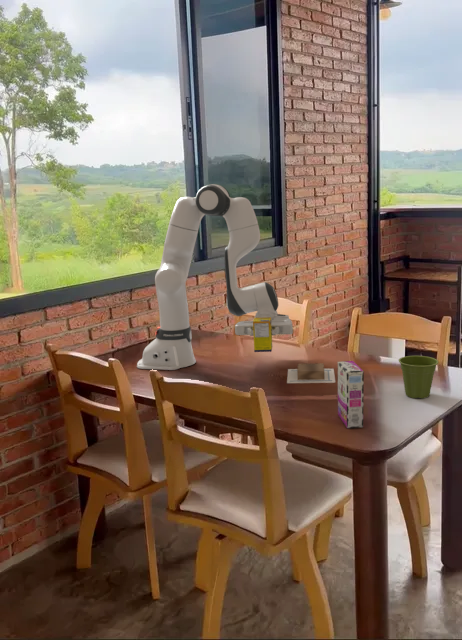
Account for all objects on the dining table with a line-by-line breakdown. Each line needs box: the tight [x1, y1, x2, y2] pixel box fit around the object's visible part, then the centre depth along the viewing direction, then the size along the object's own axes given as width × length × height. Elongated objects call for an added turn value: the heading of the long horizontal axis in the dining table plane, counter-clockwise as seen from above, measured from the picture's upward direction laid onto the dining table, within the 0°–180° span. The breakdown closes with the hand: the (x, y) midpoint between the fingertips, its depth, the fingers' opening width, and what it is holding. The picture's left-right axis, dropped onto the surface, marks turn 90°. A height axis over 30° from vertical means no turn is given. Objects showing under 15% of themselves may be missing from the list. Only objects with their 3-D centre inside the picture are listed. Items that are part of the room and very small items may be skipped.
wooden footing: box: [296, 362, 325, 380], centre depth 228 cm, size 9×9×3 cm
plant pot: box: [398, 355, 439, 399], centre depth 206 cm, size 12×12×11 cm
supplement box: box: [252, 317, 273, 353], centre depth 227 cm, size 6×6×11 cm
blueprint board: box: [286, 368, 336, 384], centre depth 228 cm, size 16×16×1 cm
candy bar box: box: [337, 360, 365, 429], centre depth 187 cm, size 11×5×16 cm, turn 5°
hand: (262, 333), depth 226 cm, fingers closed on supplement box, 6 cm apart
